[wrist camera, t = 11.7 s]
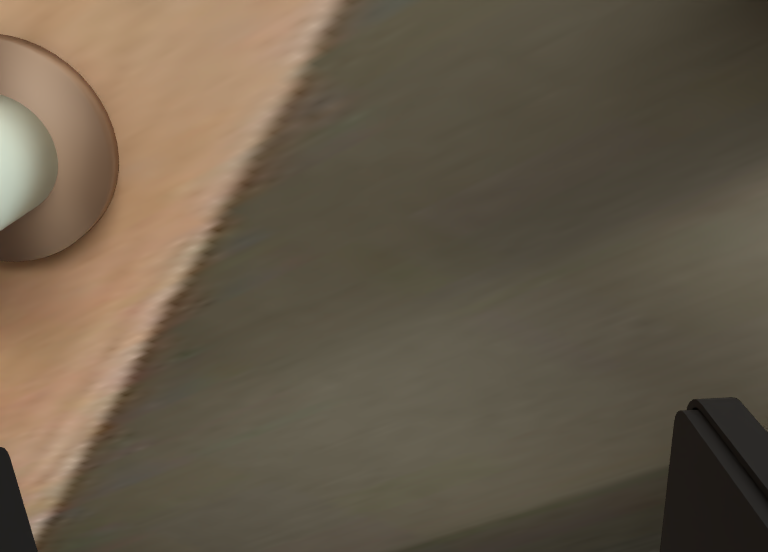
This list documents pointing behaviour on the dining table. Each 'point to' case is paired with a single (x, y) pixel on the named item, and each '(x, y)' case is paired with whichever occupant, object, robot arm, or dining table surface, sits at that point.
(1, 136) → the pale green rounded cylinder
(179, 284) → the dining table surface
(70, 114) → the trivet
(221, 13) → the dining table surface
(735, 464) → the robot arm
